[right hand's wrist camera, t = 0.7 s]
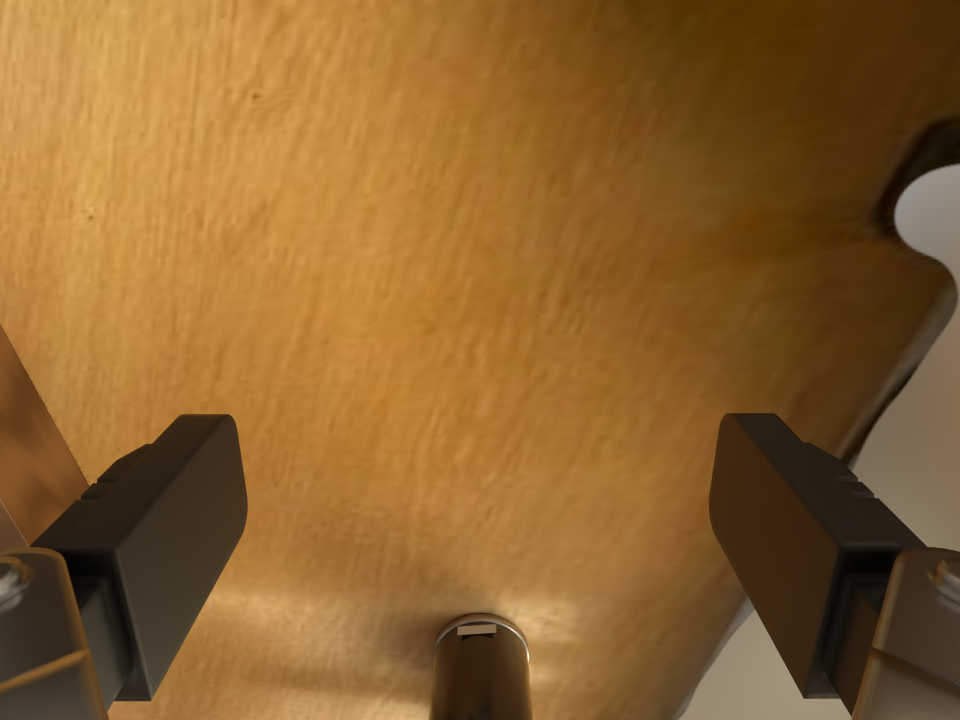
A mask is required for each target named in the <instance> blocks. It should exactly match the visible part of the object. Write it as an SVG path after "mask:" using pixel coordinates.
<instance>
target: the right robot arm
mask: <svg viewBox="0 0 960 720" xmlns="http://www.w3.org/2000/svg"><path fill="white" fill-rule="evenodd" d="M247 506H248V504H247V493H246V486H245V479H244V473H243V466H242V459H241V452H240V446H239V439H238V432H237V427H236V423H235V421H234V419H233V417H232V416H231V415H229V414H182V415H180V416H179V417H178V418H177V419H176V420H175V421H174V422H173V423H172V424H171V425H170V426H169V427H168V428H167V429H166V430H165V431H164V432H163V433H162V434H161V435H160V436H159V437H158V438H157V439H156V440H155V441H154V442H153V443H152V444H145V445H144V446H142V447H140V448H138V449H136V450H134V451H133V452H131V453H129V454H127V455H125V456H124V457H122V458H120V459H118V460H117V461H116V462H115V463H113V464H112V465H111V466H110V467H109V468H108V469H107V470H106V471H105V472H104V473H103V474H102V475H101V476H100V477H99V478H98V479H97V483H93V484H92V485H91V486H90V487H89V488H88V489H87V490H86V491H85V492H84V493H83V494H82V495H81V499H80V500H76V501H75V502H74V503H73V504H72V505H71V506H70V507H69V508H68V509H67V510H66V511H65V512H64V513H63V514H62V515H61V516H60V517H59V518H57V519H56V520H55V521H54V522H53V523H52V524H51V525H50V526H49V527H48V528H47V529H46V530H45V531H44V532H43V533H42V534H41V535H40V536H39V537H38V538H37V539H36V540H35V541H34V542H33V543H32V544H31V545H30V546H29V547H25V548H17V549H11V550H6V551H2V552H0V720H109V717H108V714H107V711H108V710H109V708H110V706H111V705H112V703H113V701H151V700H152V698H153V696H154V694H155V692H156V690H157V689H158V687H159V685H160V683H161V681H162V680H163V678H164V676H165V674H166V672H167V671H168V669H169V667H170V665H171V663H172V661H173V660H174V658H175V656H176V654H177V652H178V651H179V649H180V647H181V645H182V643H183V642H184V640H185V638H186V636H187V634H188V632H189V631H190V629H191V627H192V625H193V623H194V622H195V620H196V618H197V616H198V614H199V612H200V611H201V609H202V607H203V605H204V603H205V602H206V600H207V598H208V596H209V594H210V593H211V591H212V589H213V587H214V585H215V583H216V582H217V580H218V578H219V576H220V574H221V573H222V571H223V569H224V567H225V565H226V563H227V562H228V560H229V558H230V556H231V554H232V553H233V551H234V549H235V547H236V545H237V544H238V542H239V540H240V538H241V536H242V534H243V531H244V528H245V524H246V518H247ZM709 514H710V520H711V525H712V529H713V531H714V534H715V536H716V538H717V540H718V542H719V543H720V545H721V547H722V549H723V551H724V553H725V554H726V556H727V558H728V560H729V562H730V564H731V565H732V567H733V569H734V571H735V573H736V575H737V576H738V578H739V580H740V582H741V584H742V586H743V588H744V589H745V591H746V593H747V595H748V597H749V599H750V600H751V602H752V604H753V606H754V608H755V610H756V611H757V613H758V615H759V617H760V619H761V621H762V622H763V624H764V626H765V628H766V630H767V632H768V633H769V635H770V637H771V639H772V641H773V643H774V644H775V646H776V648H777V650H778V652H779V654H780V655H781V657H782V659H783V661H784V663H785V665H786V666H787V668H788V670H789V672H790V674H791V676H792V677H793V679H794V681H795V683H796V685H797V687H798V689H799V690H800V692H801V694H802V696H803V698H804V699H841V700H842V702H843V704H844V705H845V707H846V708H847V710H848V712H849V713H850V715H851V720H960V552H958V551H954V550H949V549H943V548H935V547H927V546H926V545H925V544H924V543H923V542H922V541H921V540H920V539H919V538H918V537H917V536H916V535H915V534H914V533H913V532H912V531H911V530H910V529H909V528H908V527H907V526H906V525H905V524H904V523H903V522H902V521H901V520H900V519H899V518H898V517H897V516H896V515H895V514H894V513H893V512H892V511H891V510H890V509H889V508H888V507H887V506H886V505H885V504H884V503H883V502H882V501H880V499H878V498H874V494H873V493H872V492H871V491H870V490H869V489H868V488H867V487H866V486H865V485H864V484H863V483H862V482H858V478H857V477H856V476H855V475H854V474H853V473H852V472H851V471H850V470H849V469H848V468H847V467H846V466H845V465H844V464H843V463H842V462H841V461H840V460H839V459H838V458H836V457H834V456H832V455H831V454H829V453H827V452H825V451H823V450H821V449H820V448H818V447H816V446H814V445H812V444H811V443H803V442H802V441H801V440H800V439H799V438H798V437H797V435H796V434H795V433H794V432H793V431H792V430H791V429H790V428H789V427H788V426H787V425H786V424H785V423H784V422H783V421H782V420H781V419H780V418H779V417H778V416H777V415H776V414H774V413H728V414H726V415H725V416H724V417H723V418H722V421H721V423H720V427H719V433H718V440H717V447H716V454H715V461H714V467H713V474H712V481H711V488H710V495H709ZM433 661H434V665H433V677H432V688H431V700H430V712H429V720H533V713H532V701H531V690H530V676H529V665H528V661H529V653H528V644H527V641H526V638H525V636H524V635H523V633H522V632H521V630H520V629H519V628H518V627H517V626H515V625H514V624H513V623H511V622H510V621H508V620H506V619H504V618H501V617H499V616H495V615H490V614H472V615H467V616H464V617H461V618H458V619H456V620H454V621H452V622H451V623H449V624H448V625H447V626H445V627H444V628H443V629H442V631H441V632H440V633H439V635H438V636H437V639H436V641H435V644H434V653H433Z"/></svg>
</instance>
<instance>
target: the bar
mask: <svg viewBox="0 0 960 720" xmlns="http://www.w3.org/2000/svg"><path fill="white" fill-rule="evenodd" d="M88 488H89V485H88V483H87V481H86V479H85V477H84V476H83V474H82V472H81V470H80V468H79V467H78V465H77V463H76V461H75V459H74V457H73V456H72V454H71V452H70V450H69V448H68V447H67V445H66V443H65V441H64V439H63V438H62V436H61V434H60V432H59V430H58V428H57V427H56V425H55V423H54V421H53V419H52V418H51V416H50V414H49V412H48V410H47V409H46V407H45V405H44V403H43V401H42V399H41V398H40V396H39V394H38V392H37V390H36V389H35V387H34V385H33V383H32V381H31V380H30V378H29V376H28V374H27V372H26V370H25V369H24V367H23V365H22V363H21V361H20V360H19V358H18V356H17V354H16V352H15V351H14V349H13V347H12V345H11V343H10V341H9V340H8V338H7V336H6V334H5V332H4V331H3V329H2V327H1V325H0V552H2V551H6V550H11V549H17V548H25V547H29V546H30V545H31V544H32V543H33V542H34V541H35V540H36V539H37V538H38V537H39V536H40V535H41V534H42V533H43V532H44V531H45V530H46V529H47V528H48V527H49V526H50V525H51V524H52V523H53V522H54V521H55V520H56V519H57V518H59V517H60V516H61V515H62V514H63V513H64V512H65V511H66V510H67V509H68V508H69V507H70V506H71V505H72V504H73V503H74V502H75V501H76V500H80V499H81V495H82V494H83V493H84V492H85V491H86V490H87V489H88Z"/></svg>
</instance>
